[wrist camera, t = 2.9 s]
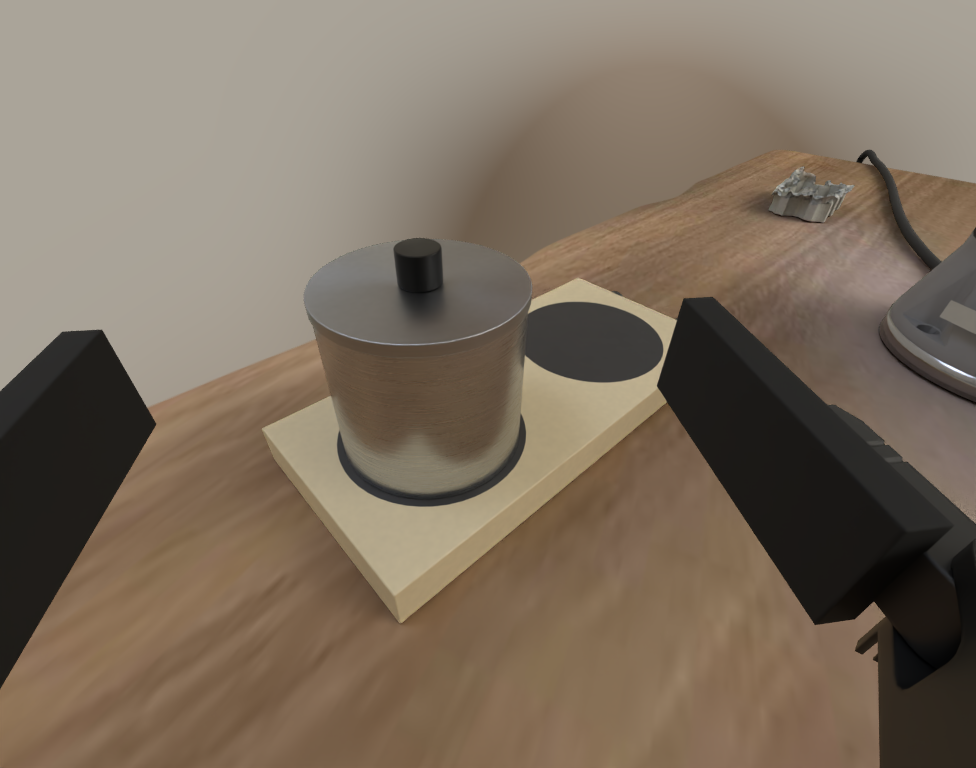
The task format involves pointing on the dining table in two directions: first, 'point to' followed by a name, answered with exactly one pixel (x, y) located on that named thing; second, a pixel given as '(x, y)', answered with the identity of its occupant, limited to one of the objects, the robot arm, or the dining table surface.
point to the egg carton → (807, 197)
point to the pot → (423, 361)
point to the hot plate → (530, 472)
